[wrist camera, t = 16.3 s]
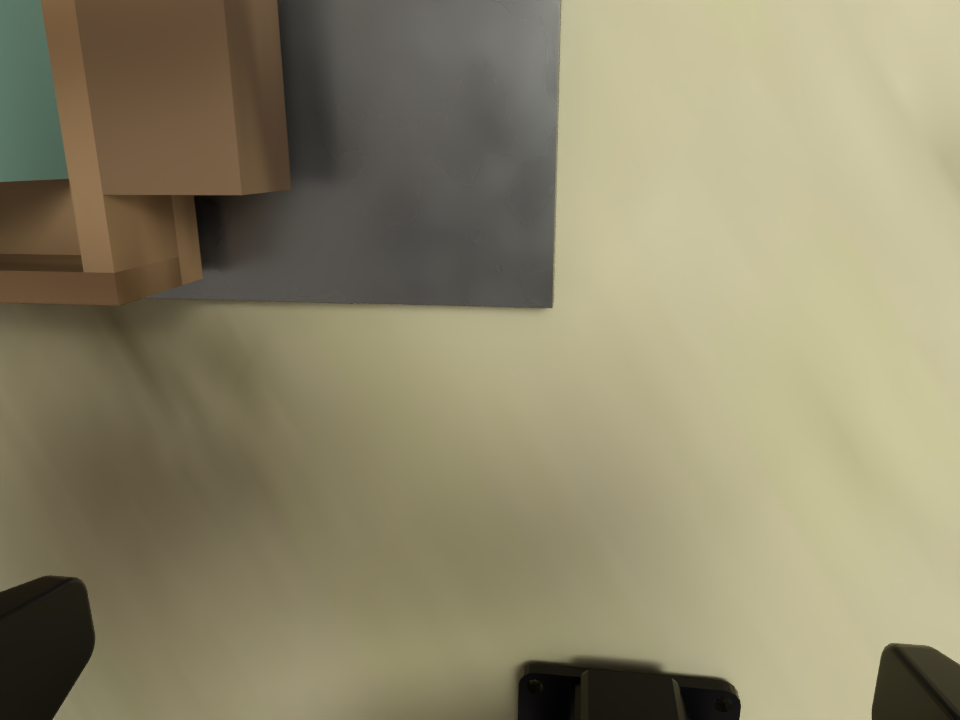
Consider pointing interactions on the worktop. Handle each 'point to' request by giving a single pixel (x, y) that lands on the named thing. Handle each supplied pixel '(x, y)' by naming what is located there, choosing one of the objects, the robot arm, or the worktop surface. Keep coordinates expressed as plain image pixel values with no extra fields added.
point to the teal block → (27, 98)
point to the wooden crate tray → (144, 145)
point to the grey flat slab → (402, 161)
